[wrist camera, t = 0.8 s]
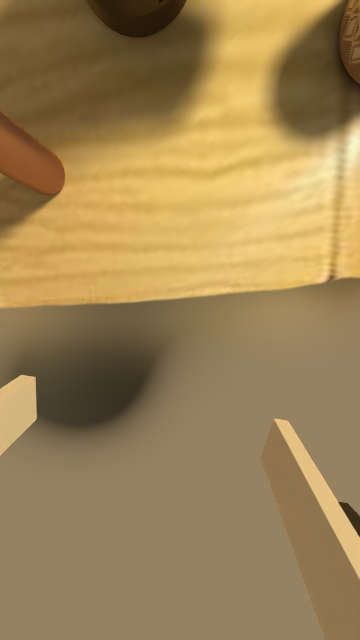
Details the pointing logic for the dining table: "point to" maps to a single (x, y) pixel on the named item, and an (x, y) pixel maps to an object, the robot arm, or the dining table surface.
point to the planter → (351, 39)
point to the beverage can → (28, 159)
